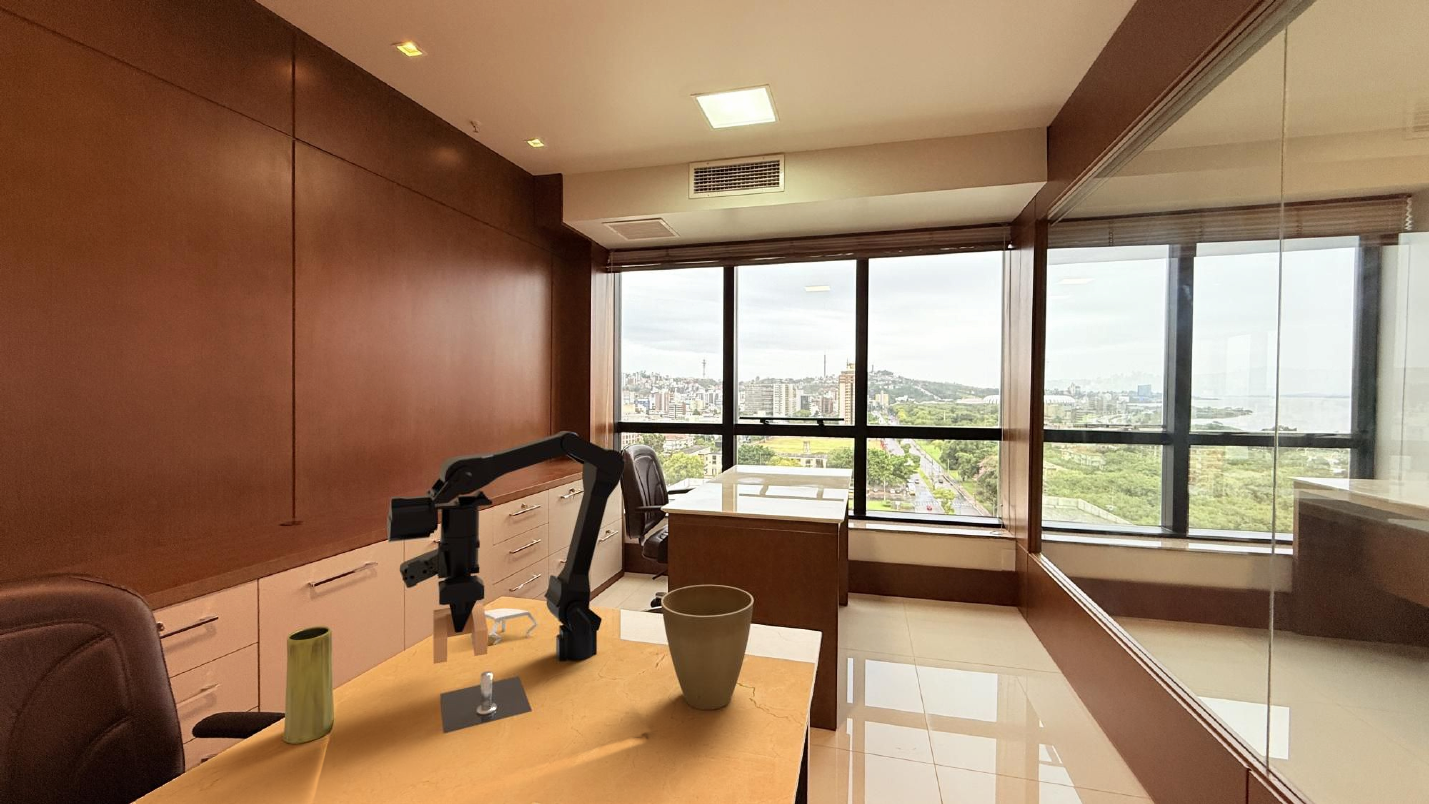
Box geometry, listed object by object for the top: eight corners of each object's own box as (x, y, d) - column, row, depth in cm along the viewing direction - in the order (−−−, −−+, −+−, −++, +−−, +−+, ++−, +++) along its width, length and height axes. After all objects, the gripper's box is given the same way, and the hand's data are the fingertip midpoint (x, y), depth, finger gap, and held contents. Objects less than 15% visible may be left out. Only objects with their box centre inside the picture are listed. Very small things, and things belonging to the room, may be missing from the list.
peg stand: (518, 681, 94) (518, 643, 94) (531, 717, 84) (531, 674, 84) (440, 699, 89) (440, 659, 89) (443, 740, 78) (443, 694, 78)
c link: (482, 625, 94) (482, 602, 93) (487, 653, 86) (487, 629, 85) (433, 633, 90) (433, 610, 90) (433, 663, 82) (433, 638, 82)
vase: (307, 747, 76) (307, 644, 76) (271, 741, 78) (271, 640, 78) (345, 722, 82) (345, 626, 82) (310, 717, 84) (311, 623, 84)
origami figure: (472, 650, 107) (472, 624, 107) (477, 632, 115) (477, 608, 115) (537, 642, 110) (537, 617, 110) (538, 625, 118) (538, 602, 118)
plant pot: (766, 685, 93) (766, 590, 93) (731, 734, 80) (731, 622, 80) (687, 667, 99) (687, 578, 99) (643, 709, 86) (643, 606, 86)
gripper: (405, 527, 95) (404, 617, 95) (401, 553, 79) (399, 663, 79) (475, 521, 101) (474, 607, 101) (485, 545, 84) (483, 648, 84)
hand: (458, 629), depth 91 cm, fingers closed on c link, 2 cm apart
